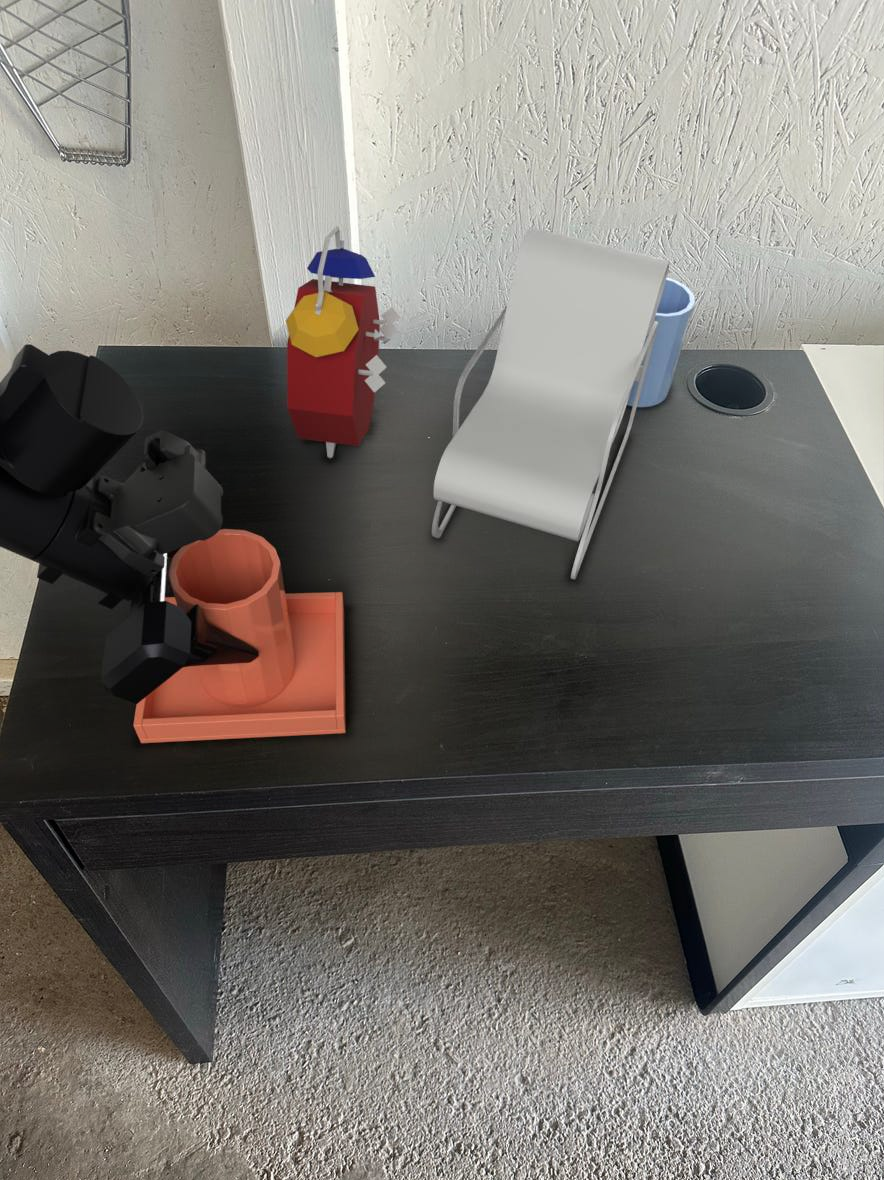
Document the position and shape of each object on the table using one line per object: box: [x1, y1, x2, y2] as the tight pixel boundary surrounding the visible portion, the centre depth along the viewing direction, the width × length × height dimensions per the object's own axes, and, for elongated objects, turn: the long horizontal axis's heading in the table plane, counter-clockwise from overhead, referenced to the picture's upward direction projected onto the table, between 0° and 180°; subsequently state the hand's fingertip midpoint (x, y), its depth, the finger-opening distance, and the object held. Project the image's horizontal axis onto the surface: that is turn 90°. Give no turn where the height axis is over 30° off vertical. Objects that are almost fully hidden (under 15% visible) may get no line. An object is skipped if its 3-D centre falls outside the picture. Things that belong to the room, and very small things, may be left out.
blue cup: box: [626, 277, 696, 408], centre depth 93 cm, size 7×7×11 cm
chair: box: [431, 226, 671, 580], centre depth 79 cm, size 13×25×20 cm, turn 161°
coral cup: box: [167, 528, 295, 707], centre depth 66 cm, size 7×7×12 cm
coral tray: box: [132, 591, 347, 744], centre depth 70 cm, size 15×12×2 cm
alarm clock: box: [285, 225, 401, 459], centre depth 82 cm, size 15×9×20 cm, turn 174°
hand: (254, 615), depth 65 cm, fingers closed on coral cup, 7 cm apart
